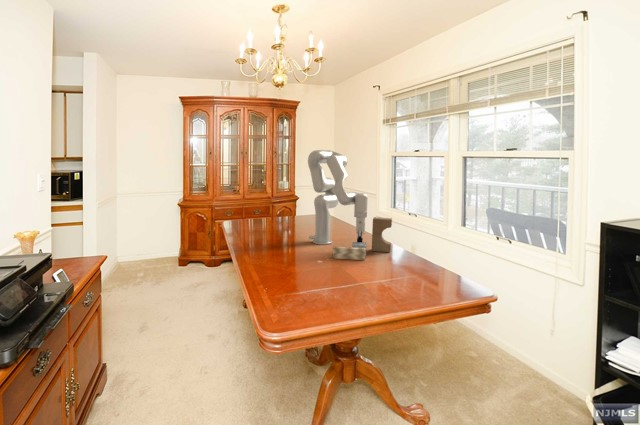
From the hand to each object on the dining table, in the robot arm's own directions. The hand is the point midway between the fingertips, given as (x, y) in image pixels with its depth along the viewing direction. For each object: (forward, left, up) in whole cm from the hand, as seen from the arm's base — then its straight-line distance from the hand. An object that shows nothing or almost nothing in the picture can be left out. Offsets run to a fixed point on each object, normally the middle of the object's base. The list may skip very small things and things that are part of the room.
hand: (359, 244), depth 218 cm
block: (0, -6, -4) cm, 7 cm away
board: (-5, -16, -4) cm, 18 cm away
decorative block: (+13, +4, -4) cm, 14 cm away
